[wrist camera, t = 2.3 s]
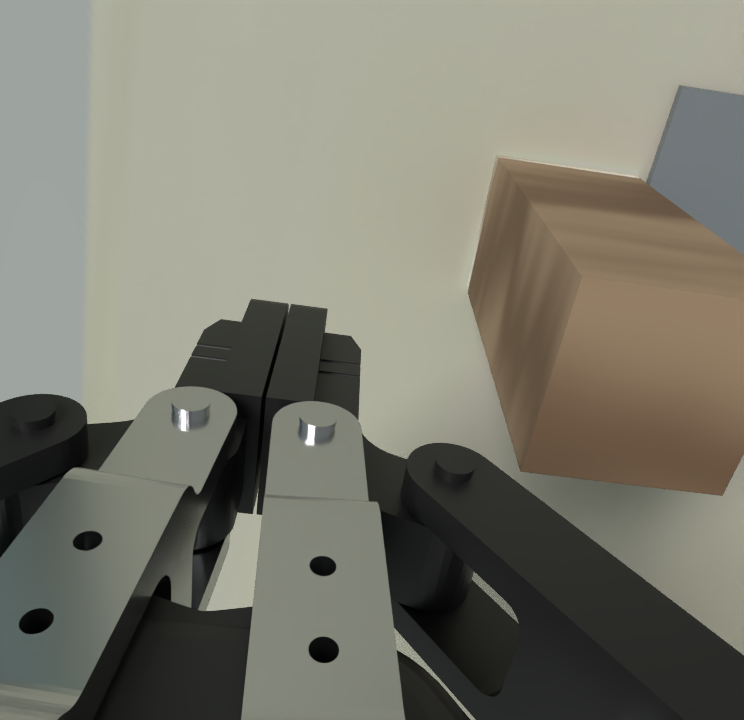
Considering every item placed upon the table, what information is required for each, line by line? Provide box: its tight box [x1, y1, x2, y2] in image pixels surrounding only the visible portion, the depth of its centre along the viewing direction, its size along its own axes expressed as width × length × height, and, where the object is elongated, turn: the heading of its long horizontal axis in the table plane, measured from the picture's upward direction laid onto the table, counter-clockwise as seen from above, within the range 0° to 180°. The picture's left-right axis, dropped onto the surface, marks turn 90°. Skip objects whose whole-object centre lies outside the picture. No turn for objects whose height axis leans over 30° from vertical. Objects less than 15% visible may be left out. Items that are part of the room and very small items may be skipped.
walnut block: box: [467, 155, 744, 496], centre depth 18 cm, size 4×4×10 cm
